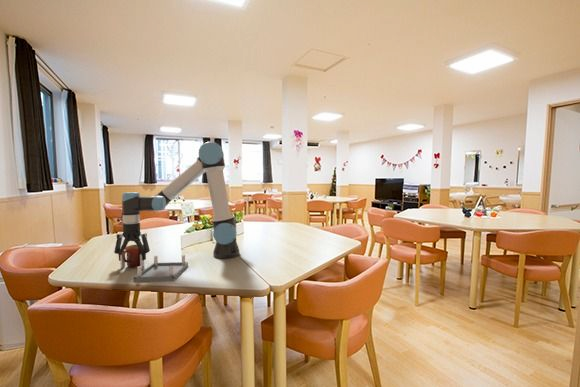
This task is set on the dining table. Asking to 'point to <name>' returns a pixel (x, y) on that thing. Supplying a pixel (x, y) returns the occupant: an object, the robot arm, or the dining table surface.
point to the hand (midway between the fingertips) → (132, 266)
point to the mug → (132, 256)
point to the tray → (161, 271)
